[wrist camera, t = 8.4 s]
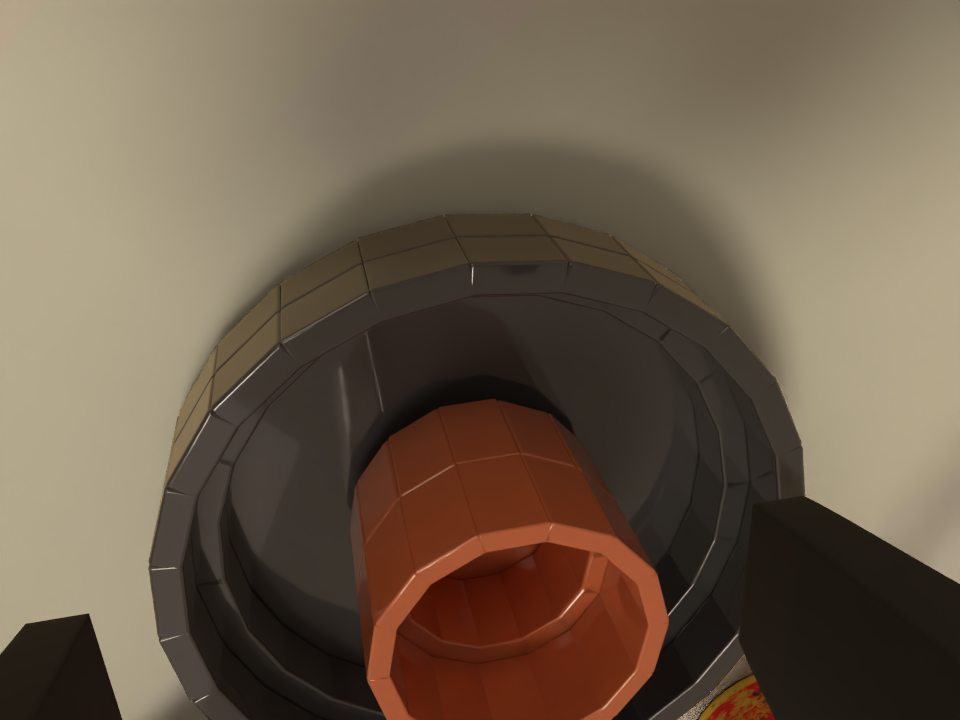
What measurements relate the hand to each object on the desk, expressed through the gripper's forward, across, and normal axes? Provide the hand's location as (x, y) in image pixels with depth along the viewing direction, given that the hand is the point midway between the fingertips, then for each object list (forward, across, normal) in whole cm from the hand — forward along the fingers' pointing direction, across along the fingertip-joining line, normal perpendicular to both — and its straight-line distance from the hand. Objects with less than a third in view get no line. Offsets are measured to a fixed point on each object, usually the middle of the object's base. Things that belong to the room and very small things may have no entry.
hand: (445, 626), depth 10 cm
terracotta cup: (+9, -2, +5) cm, 10 cm away
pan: (+9, -2, +5) cm, 11 cm away
